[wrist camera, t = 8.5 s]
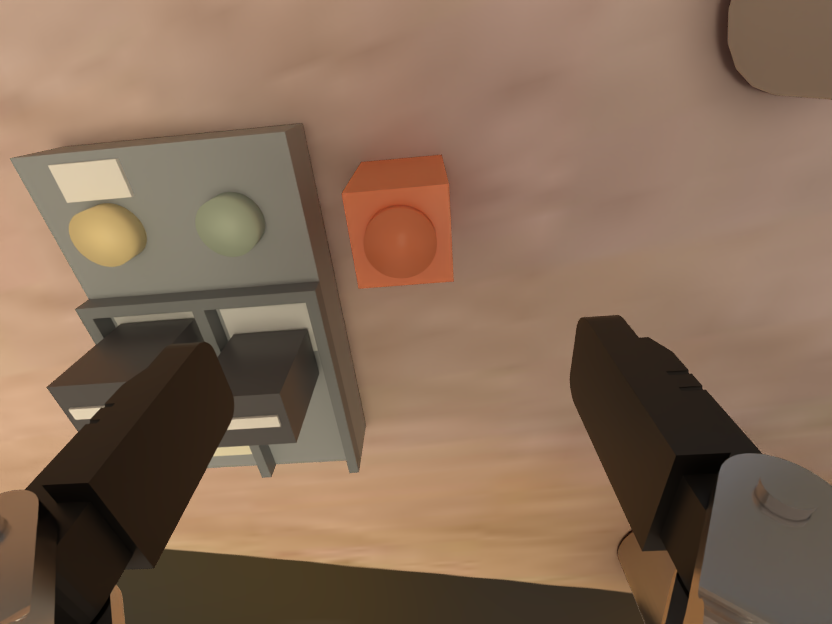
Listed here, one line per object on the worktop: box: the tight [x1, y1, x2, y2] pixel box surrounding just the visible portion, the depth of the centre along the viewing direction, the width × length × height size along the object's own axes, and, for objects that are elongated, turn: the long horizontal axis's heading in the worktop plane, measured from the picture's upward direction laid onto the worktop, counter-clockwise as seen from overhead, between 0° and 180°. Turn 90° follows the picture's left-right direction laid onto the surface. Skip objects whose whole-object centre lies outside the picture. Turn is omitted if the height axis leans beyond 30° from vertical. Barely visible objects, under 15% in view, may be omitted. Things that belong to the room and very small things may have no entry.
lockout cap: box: [342, 155, 454, 289], centre depth 19 cm, size 4×4×7 cm
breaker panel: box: [10, 123, 366, 478], centre depth 23 cm, size 20×12×4 cm, turn 5°
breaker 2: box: [217, 329, 319, 448], centre depth 20 cm, size 3×4×5 cm
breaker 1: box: [47, 318, 205, 432], centre depth 20 cm, size 3×4×5 cm
